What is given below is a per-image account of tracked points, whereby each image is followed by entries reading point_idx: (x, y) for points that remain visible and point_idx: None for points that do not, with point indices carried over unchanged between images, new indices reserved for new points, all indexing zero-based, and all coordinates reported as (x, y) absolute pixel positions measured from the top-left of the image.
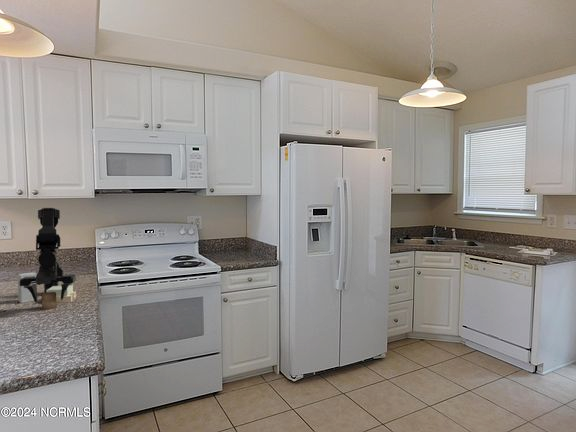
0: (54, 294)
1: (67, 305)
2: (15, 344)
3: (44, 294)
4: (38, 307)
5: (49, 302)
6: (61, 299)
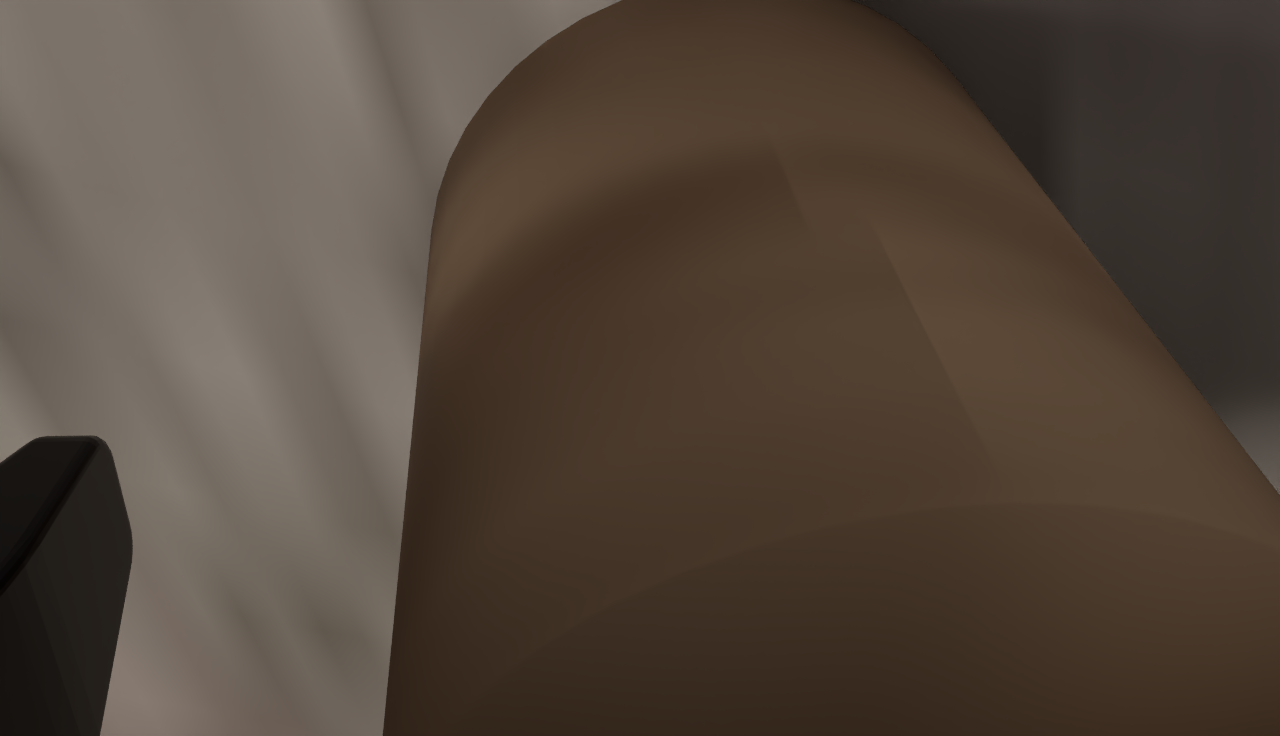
0: (420, 684)
1: (37, 433)
2: None
3: (1235, 634)
4: None
5: (702, 152)
6: (61, 458)
